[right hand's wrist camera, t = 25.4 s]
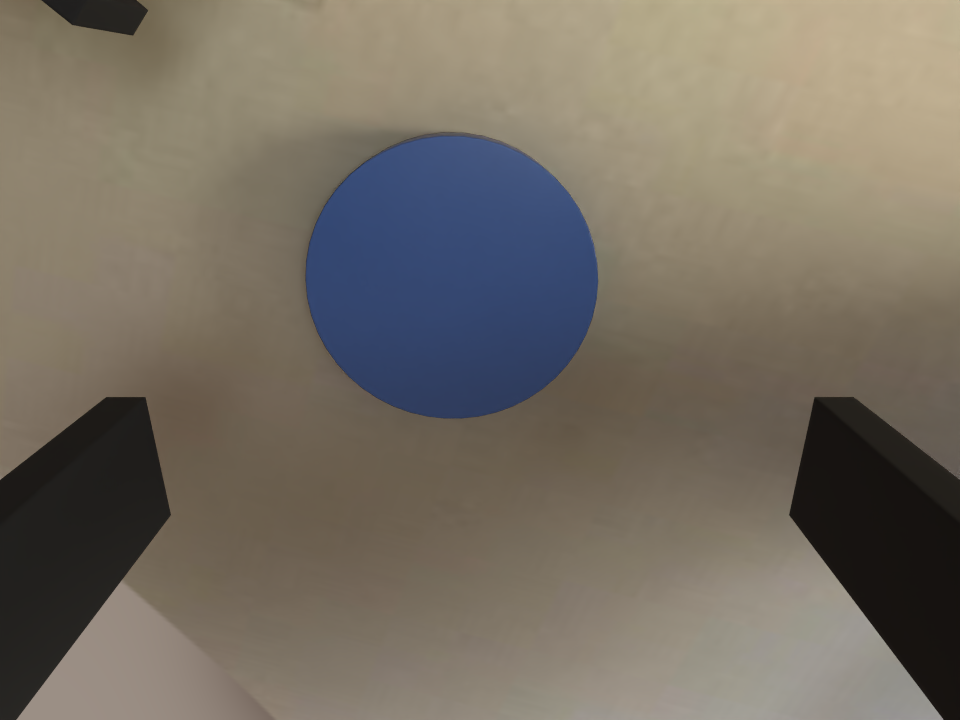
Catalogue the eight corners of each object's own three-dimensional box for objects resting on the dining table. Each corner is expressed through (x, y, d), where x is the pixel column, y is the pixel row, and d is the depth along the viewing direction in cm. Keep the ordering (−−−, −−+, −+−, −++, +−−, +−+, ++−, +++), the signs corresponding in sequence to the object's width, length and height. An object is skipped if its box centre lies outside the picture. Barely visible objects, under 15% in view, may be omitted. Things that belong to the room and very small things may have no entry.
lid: (262, 286, 24) (246, 301, 22) (439, 64, 21) (436, 62, 19) (464, 441, 27) (464, 466, 25) (644, 264, 24) (658, 278, 22)
